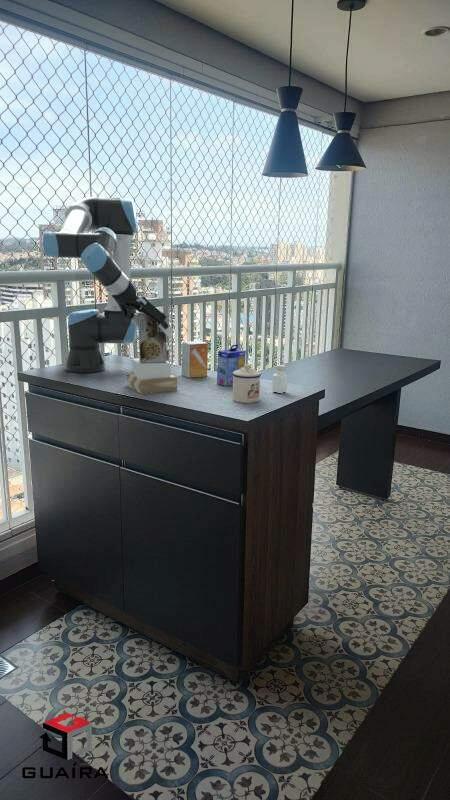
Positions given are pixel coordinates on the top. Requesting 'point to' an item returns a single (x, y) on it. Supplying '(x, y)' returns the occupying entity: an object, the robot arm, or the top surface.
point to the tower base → (151, 384)
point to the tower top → (150, 369)
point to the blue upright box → (229, 364)
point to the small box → (194, 359)
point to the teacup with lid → (246, 385)
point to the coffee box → (151, 340)
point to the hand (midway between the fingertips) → (157, 331)
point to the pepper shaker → (279, 380)
